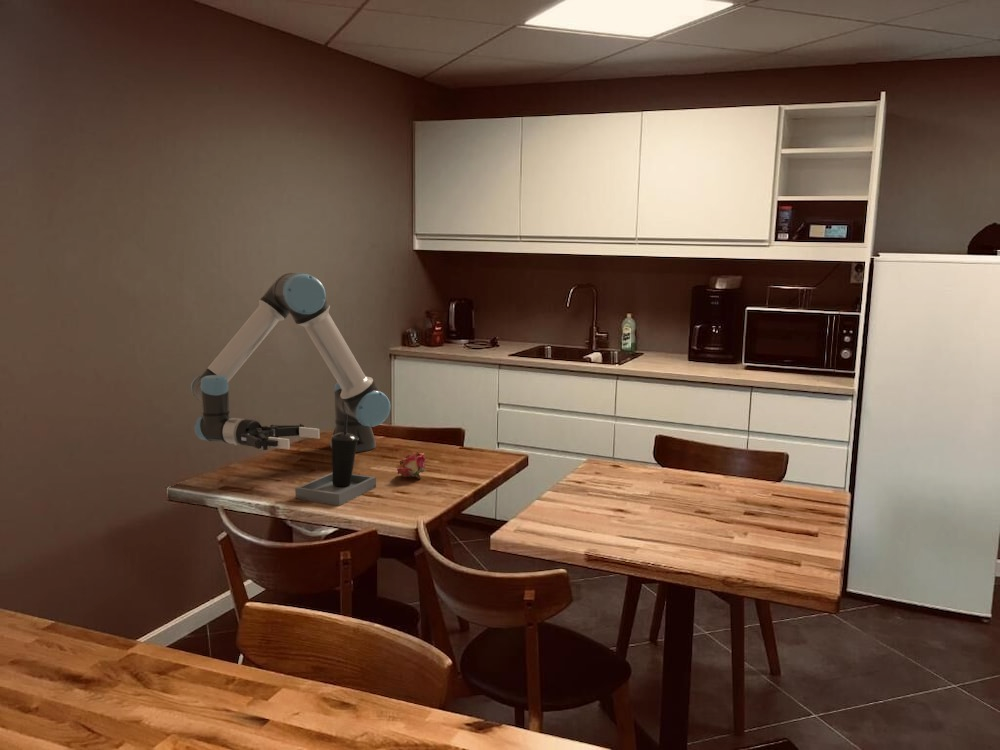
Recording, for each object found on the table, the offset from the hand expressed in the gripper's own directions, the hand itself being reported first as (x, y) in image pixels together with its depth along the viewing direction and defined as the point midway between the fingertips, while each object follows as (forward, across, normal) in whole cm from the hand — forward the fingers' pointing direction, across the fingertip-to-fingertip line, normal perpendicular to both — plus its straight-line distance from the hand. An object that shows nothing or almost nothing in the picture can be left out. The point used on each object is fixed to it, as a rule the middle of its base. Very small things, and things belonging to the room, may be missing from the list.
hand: (304, 438), depth 221 cm
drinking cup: (+9, -4, -13) cm, 17 cm away
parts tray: (+10, 0, -14) cm, 18 cm away
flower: (+22, -22, -15) cm, 34 cm away
